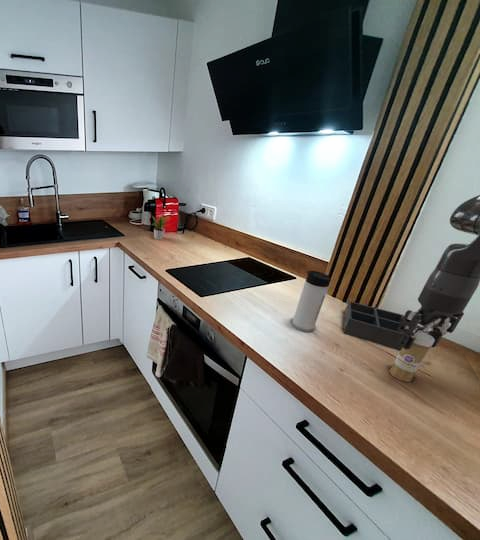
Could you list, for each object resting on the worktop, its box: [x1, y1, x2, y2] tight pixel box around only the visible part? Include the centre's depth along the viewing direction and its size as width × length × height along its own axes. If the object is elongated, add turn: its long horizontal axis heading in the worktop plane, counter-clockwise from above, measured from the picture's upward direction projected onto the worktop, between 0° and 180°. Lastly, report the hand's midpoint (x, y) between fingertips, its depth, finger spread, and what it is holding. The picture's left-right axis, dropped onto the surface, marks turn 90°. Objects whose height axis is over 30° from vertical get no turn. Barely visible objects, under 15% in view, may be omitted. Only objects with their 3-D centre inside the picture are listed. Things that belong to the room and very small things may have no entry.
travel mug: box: [291, 270, 332, 333], centre depth 93 cm, size 6×7×20 cm
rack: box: [342, 300, 407, 352], centre depth 94 cm, size 15×15×6 cm
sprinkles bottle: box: [388, 329, 435, 383], centre depth 74 cm, size 5×5×14 cm
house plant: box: [151, 214, 170, 241], centre depth 180 cm, size 14×14×16 cm
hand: (416, 346), depth 72 cm, fingers open, 7 cm apart
